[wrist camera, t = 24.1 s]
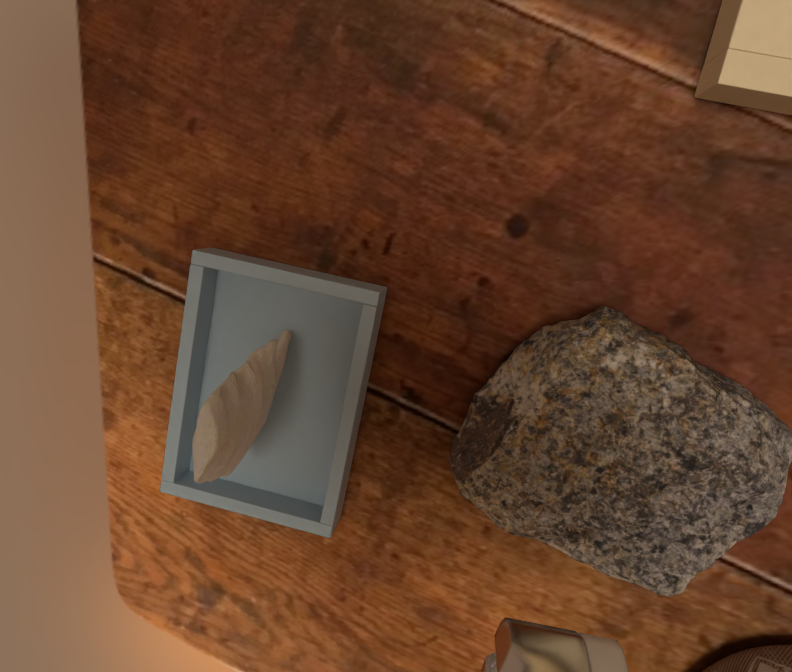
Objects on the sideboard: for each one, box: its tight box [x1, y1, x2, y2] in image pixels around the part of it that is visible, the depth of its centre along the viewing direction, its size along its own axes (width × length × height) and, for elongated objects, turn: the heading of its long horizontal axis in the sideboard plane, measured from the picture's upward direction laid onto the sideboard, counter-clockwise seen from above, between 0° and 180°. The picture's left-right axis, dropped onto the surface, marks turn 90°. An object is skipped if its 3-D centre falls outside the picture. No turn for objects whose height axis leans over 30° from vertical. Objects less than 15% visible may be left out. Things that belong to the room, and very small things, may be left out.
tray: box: [160, 248, 387, 538], centre depth 37 cm, size 15×11×2 cm
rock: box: [449, 306, 792, 597], centre depth 32 cm, size 13×6×15 cm
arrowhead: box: [192, 329, 292, 483], centre depth 33 cm, size 8×2×10 cm, turn 161°
